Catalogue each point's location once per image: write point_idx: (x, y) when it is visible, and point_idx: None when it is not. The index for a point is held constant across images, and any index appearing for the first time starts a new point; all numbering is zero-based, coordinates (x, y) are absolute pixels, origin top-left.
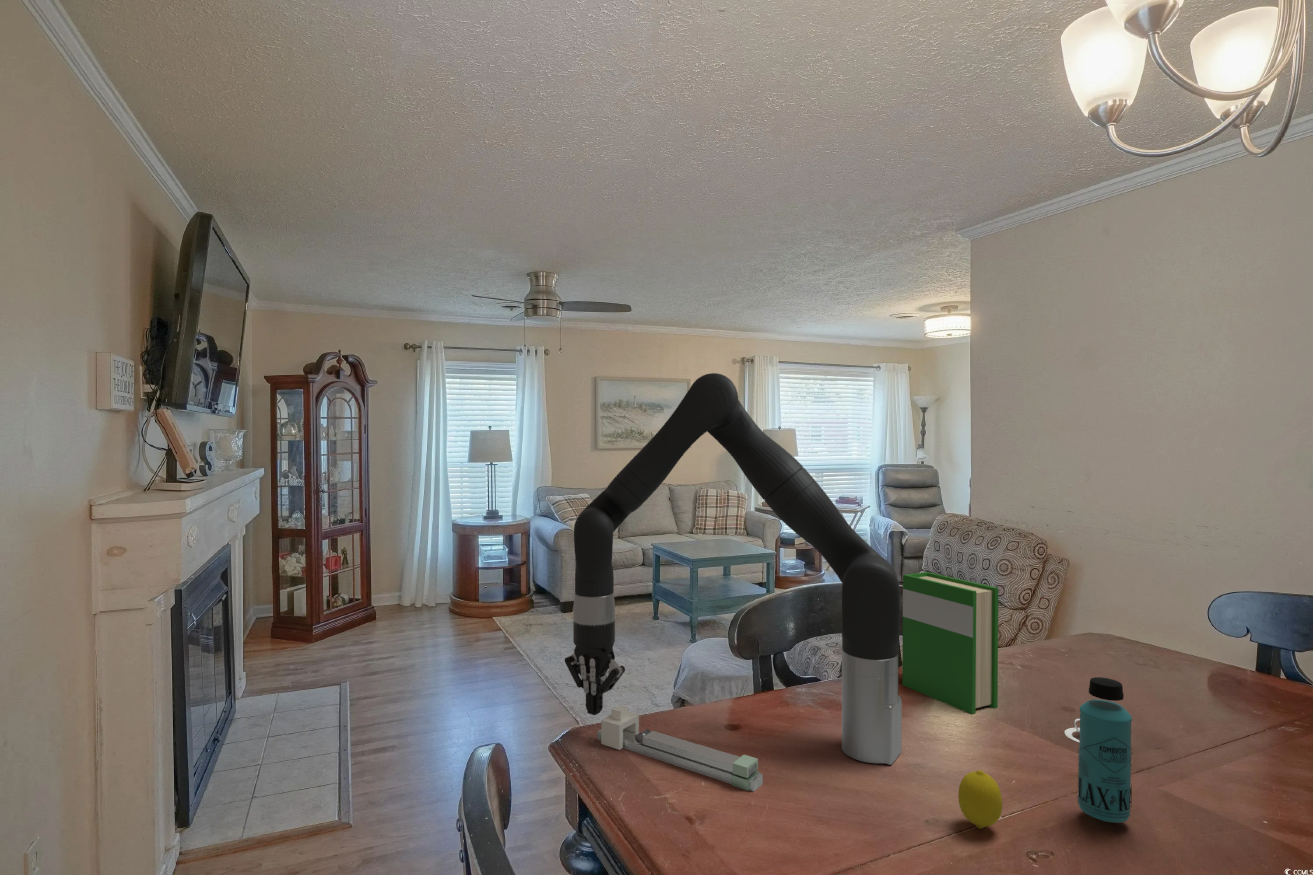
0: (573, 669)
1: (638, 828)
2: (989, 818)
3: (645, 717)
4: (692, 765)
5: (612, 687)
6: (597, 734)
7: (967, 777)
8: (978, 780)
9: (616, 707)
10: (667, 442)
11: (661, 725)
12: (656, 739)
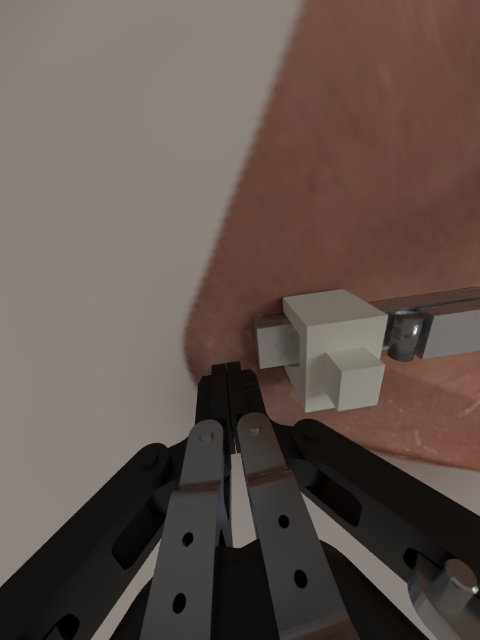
0: (101, 617)
1: (467, 460)
2: None
3: (263, 134)
4: None
5: (333, 431)
6: (258, 362)
7: None
8: None
9: (344, 394)
10: None
11: (351, 154)
12: (461, 346)
